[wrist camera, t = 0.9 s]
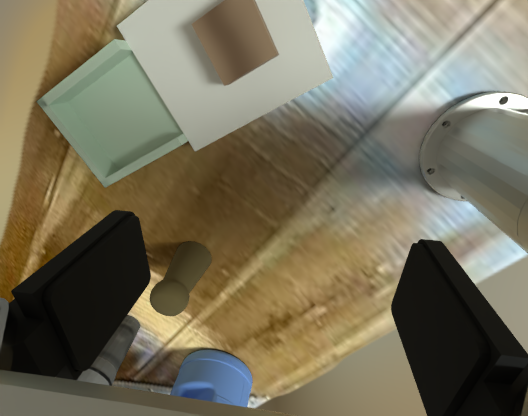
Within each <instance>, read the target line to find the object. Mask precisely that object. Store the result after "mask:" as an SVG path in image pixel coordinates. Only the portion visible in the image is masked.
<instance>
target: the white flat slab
mask: <svg viewBox="0 0 528 416" xmlns="http://www.w3.org/2000/svg"><path fill="white" fill-rule="evenodd" d="M223 1H224V0H148V1H147V2H146V3H144V4H143V5H142V6H141V7H139V8H138V9H137V10H136V11H134V12H133V13H132V14H131V15H130V16H128V17H127V18H126V19H125V20H123V21H122V22H121V23H120V24H119V25H117V27H118V29H119V31H120V32H121V34H122V35H123V37H124V39H125V40H126V42H127V43H128V45H129V47H130V48H131V50H132V51H133V53H134V55H135V56H136V58H137V59H138V61H139V63H140V64H141V66H142V67H143V69H144V71H145V72H146V74H147V76H148V77H149V79H150V80H151V82H152V84H153V85H154V87H155V88H156V90H157V92H158V93H159V95H160V96H161V98H162V100H163V101H164V103H165V104H166V106H167V108H168V109H169V111H170V112H171V114H172V116H173V117H174V119H175V120H176V122H177V124H178V125H179V127H180V128H181V130H182V132H183V133H184V135H185V136H186V138H187V140H188V141H189V143H190V144H191V146H192V148H193V149H194V151H197V150H199V149H201V148H203V147H205V146H207V145H208V144H210V143H212V142H214V141H216V140H218V139H220V138H222V137H223V136H225V135H227V134H229V133H231V132H233V131H235V130H236V129H238V128H240V127H242V126H244V125H246V124H248V123H250V122H251V121H253V120H255V119H257V118H259V117H261V116H263V115H265V114H266V113H268V112H270V111H272V110H274V109H276V108H278V107H279V106H281V105H283V104H285V103H287V102H289V101H291V100H293V99H294V98H296V97H298V96H300V95H302V94H304V93H306V92H308V91H309V90H311V89H313V88H315V87H317V86H319V85H321V84H322V83H324V82H326V81H328V80H330V79H332V78H333V76H332V73H331V71H330V68H329V66H328V63H327V60H326V58H325V55H324V53H323V50H322V47H321V45H320V42H319V40H318V37H317V34H316V32H315V29H314V27H313V24H312V21H311V19H310V16H309V14H308V11H307V9H306V6H305V3H304V1H303V0H255V1H256V3H257V6H258V8H259V10H260V12H261V15H262V17H263V19H264V21H265V24H266V26H267V28H268V30H269V33H270V35H271V37H272V39H273V42H274V44H275V46H276V49H277V51H278V53H279V55H278V56H276V57H275V58H273V59H271V60H270V61H268V62H266V63H265V64H263V65H261V66H260V67H258V68H256V69H255V70H253V71H252V72H250V73H248V74H247V75H245V76H243V77H242V78H240V79H238V80H237V81H235V82H233V83H232V84H230V85H226V86H224V85H223V83H222V81H221V79H220V77H219V75H218V73H217V71H216V70H215V68H214V66H213V64H212V62H211V60H210V58H209V56H208V55H207V53H206V51H205V49H204V47H203V45H202V43H201V41H200V39H199V38H198V36H197V34H196V32H195V30H194V28H193V26H192V23H194V22H195V21H197V20H198V19H199V18H201V17H202V16H203V15H205V14H206V13H208V12H209V11H210V10H212V9H213V8H214V7H216V6H217V5H218V4H220V3H221V2H223Z"/></svg>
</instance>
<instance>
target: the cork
mask: <svg viewBox="0 0 528 416" xmlns="http://www.w3.org/2000/svg"><path fill="white" fill-rule="evenodd" d="M210 264H211V254H210V252H209V251H208V250H207V248H206V247H204V246H203V245H201V244H200V243H197V242H191V241H188V242H184V243H182V244H181V245H180V246H179V247H178V248H177V251H176V253H175V255H174V257H173V259H172V261H171V264H170V266H169V268H168V270H167V272H166V275H165V277H164V279H163V280H162V281H160V282H158V283H157V284H156V285H155V286H154V288H153V289H152V291H151V294H150V303H151V305H152V307H153V308H154V309H155V310H156V311H157V312H159V313H160V314H163V315H166V316H175V315H177V314H179V313H181V312H182V311H183V310H184V309H185V308H186V306H187V304H188V301H189V293H190V291H191V290H192V289H193V287H194V286H195V285H196V283H197V282H198V280H199V279H200V278H201V276H202V275H203V274H204V272H205V271H206V270H207V268H208V267H209V266H210Z"/></svg>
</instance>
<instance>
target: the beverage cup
mask: <svg viewBox="0 0 528 416" xmlns="http://www.w3.org/2000/svg"><path fill="white" fill-rule="evenodd" d="M139 328H140V324H139V322H138V320H136V319H135V318H134V317H132V316H128V315H127V316H126V317H125V318H124V320H123V321H122V323H121V324H120V326H119V327H118V328H117V330H116V331H115V333H114V334H113V335H112V337H111V338H110V340H109V341H108V343H107V344H106V345H105V347H104V348H103V350H102V351H101V353H100V354H99V355H98V357H97V358H96V360H95V361H94V363H93V364H92V365H91V367H90V368H89V369H88V370H86V371H83V372H82V373H81V375H80V376H79V378H78V379H77V381H83V382H90V383H96V384H103V385H109V386H112V383H113V382H114V379H115V377H116V373H117V371H118V369H119V367H120V365H121V363H122V361H123V360H124V358H125V356H126V354H127V352H128V350H129V348H130V346H131V344H132V342H133V340H134V338H135V337H136V335H137V332H138V330H139Z"/></svg>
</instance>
